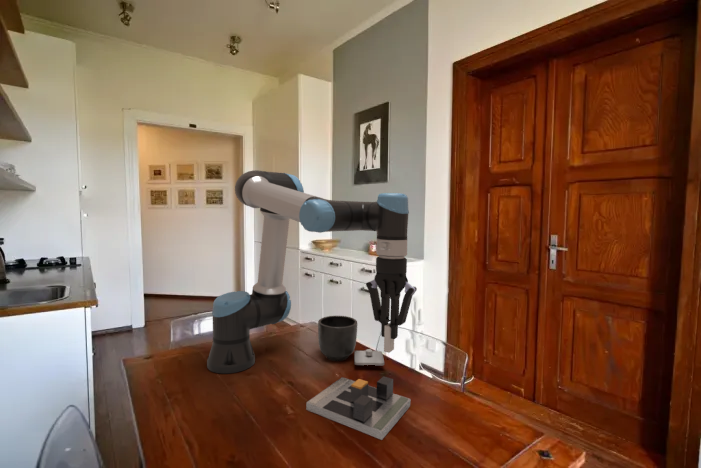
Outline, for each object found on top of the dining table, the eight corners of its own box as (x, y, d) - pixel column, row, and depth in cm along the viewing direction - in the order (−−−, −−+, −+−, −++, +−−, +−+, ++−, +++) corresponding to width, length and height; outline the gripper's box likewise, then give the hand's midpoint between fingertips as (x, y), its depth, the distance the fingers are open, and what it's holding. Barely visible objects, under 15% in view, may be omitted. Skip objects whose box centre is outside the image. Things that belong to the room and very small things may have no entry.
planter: (333, 346, 137) (334, 313, 136) (364, 355, 129) (365, 320, 128) (309, 358, 125) (309, 322, 124) (340, 369, 117) (341, 330, 116)
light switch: (384, 371, 117) (385, 356, 116) (354, 370, 117) (354, 355, 116) (381, 358, 126) (382, 344, 126) (354, 358, 126) (354, 344, 126)
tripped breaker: (350, 401, 93) (350, 384, 93) (358, 394, 97) (358, 378, 96) (360, 404, 92) (360, 387, 92) (368, 397, 95) (368, 381, 95)
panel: (306, 409, 93) (306, 386, 93) (341, 383, 107) (342, 363, 107) (381, 440, 82) (382, 413, 81) (410, 406, 96) (411, 383, 95)
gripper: (360, 255, 88) (358, 349, 89) (410, 260, 81) (407, 361, 82) (375, 253, 94) (373, 340, 96) (422, 257, 87) (419, 351, 89)
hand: (388, 350), depth 89 cm, fingers closed
